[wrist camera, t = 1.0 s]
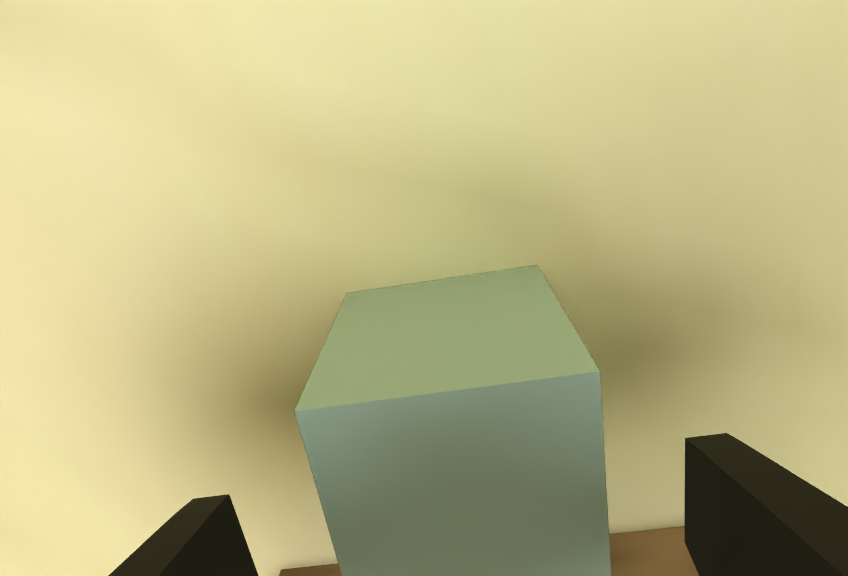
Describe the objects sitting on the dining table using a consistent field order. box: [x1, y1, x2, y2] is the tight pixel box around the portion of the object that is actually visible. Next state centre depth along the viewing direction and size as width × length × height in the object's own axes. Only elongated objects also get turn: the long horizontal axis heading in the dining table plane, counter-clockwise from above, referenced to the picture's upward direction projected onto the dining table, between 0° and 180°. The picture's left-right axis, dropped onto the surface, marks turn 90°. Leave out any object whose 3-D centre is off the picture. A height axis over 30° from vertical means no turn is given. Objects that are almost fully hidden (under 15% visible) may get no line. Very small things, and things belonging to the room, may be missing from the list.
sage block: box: [295, 265, 611, 576], centre depth 11 cm, size 4×4×5 cm
